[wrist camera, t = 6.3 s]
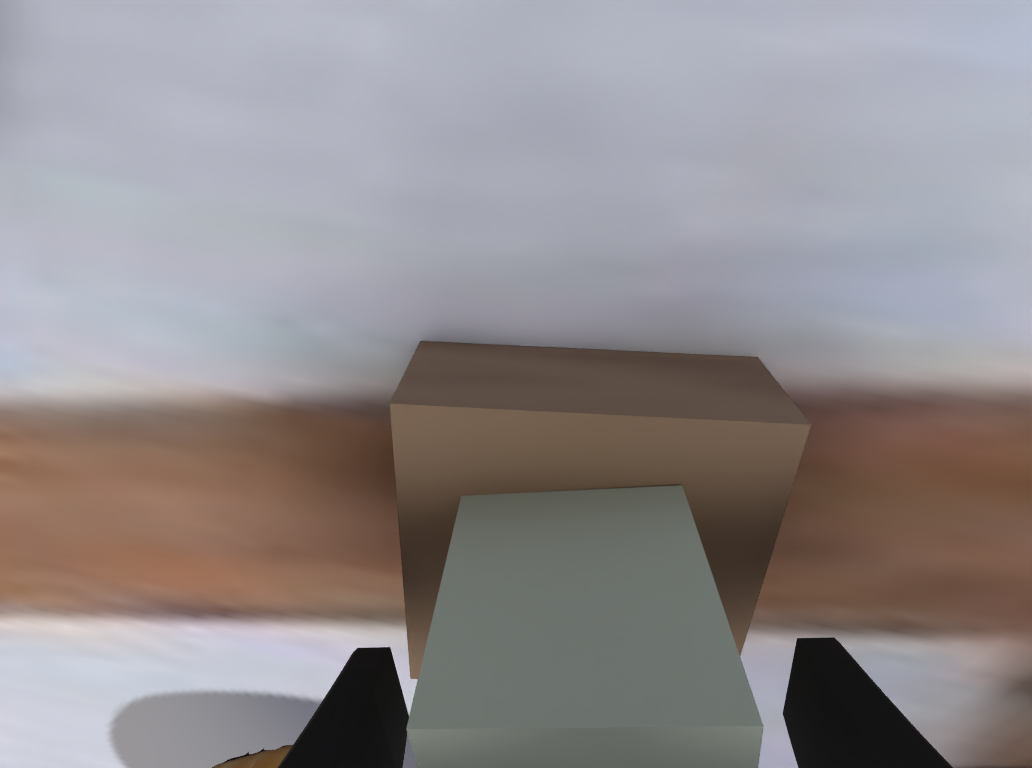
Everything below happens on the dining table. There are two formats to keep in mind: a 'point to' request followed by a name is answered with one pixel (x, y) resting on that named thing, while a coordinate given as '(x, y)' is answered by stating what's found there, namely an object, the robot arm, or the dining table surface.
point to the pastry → (257, 759)
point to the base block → (592, 450)
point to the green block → (581, 640)
